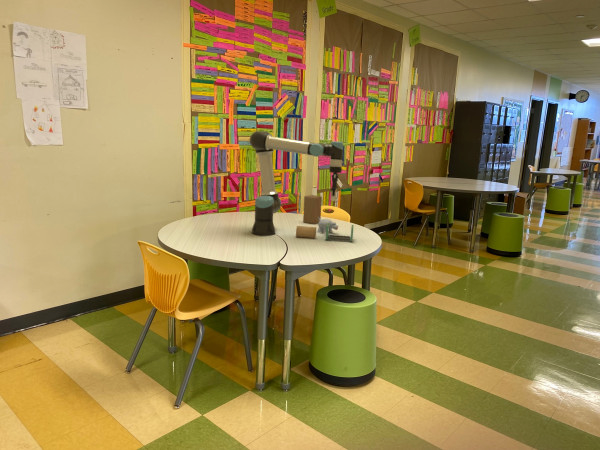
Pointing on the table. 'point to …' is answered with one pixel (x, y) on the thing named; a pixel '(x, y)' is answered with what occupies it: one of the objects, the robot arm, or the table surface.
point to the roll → (306, 232)
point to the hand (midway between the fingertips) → (333, 199)
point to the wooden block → (312, 209)
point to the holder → (337, 237)
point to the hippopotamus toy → (323, 224)
